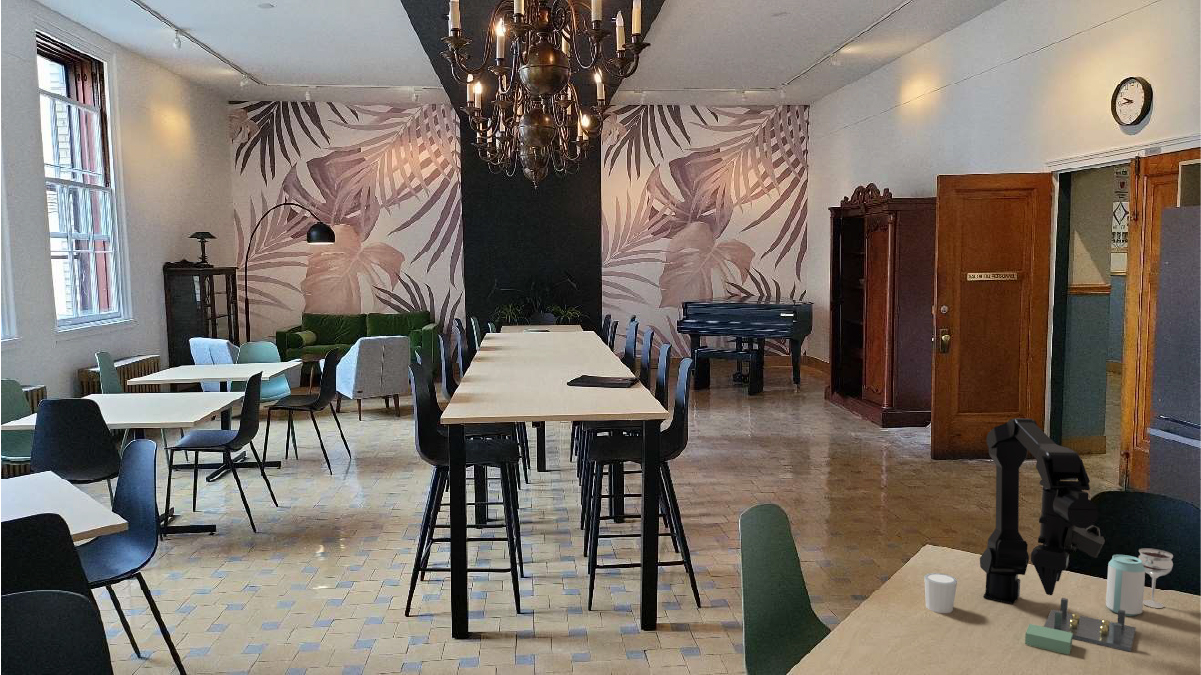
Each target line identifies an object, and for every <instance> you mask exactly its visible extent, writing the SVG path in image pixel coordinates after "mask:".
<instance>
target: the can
mask: <svg viewBox="0 0 1201 675" xmlns="http://www.w3.org/2000/svg"><path fill="white" fill-rule="evenodd" d="M1107 565H1108V566H1107V579H1106V580H1107V581H1106V582H1107V583H1106V597H1105V598H1106V600H1105V606H1106V607H1107V608H1108V609H1109V610H1110V611H1112V612H1113V613H1115V614H1118V610H1124V611H1125V616H1128V617H1129V616H1130V617H1133V616H1134V617H1135V616H1138V615H1140V614H1142V613H1143V608H1144V605H1143V600H1144V597H1145V596H1144V593H1145V580H1146V578H1145V576H1146V572H1145V568H1144V566H1143V564H1142V560H1140V559H1139V558H1138V557H1136V556H1132V555H1127V554H1126V555H1125V554H1113V555H1112V558H1111V559H1110V561H1108V564H1107ZM1137 614H1138V615H1137Z"/></svg>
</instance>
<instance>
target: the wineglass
mask: <svg viewBox="0 0 1201 675" xmlns="http://www.w3.org/2000/svg"><path fill="white" fill-rule="evenodd" d="M1138 552H1139V555H1138V557H1137V558H1139V559H1140V560H1142V564H1143V566H1144V568H1145V574H1148V575H1149V576H1150V577H1151V599H1143V603H1144V604H1145V605H1148V606H1151V607H1156V608H1161V607H1163V606H1164V605H1165V604H1163V603H1161V602H1159V601H1155V600H1154V599H1155V592H1156V591H1155V590H1156V585H1157V584H1156V582H1157V579H1158V578H1159V577H1163V576H1166V575H1168V574H1170V573H1171V572H1172V569H1173V566H1174V563H1173V560H1172V559H1173V558H1174V555H1173V553H1171V552H1169V551H1165V550H1161V549H1156V548H1139V549H1138Z"/></svg>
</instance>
